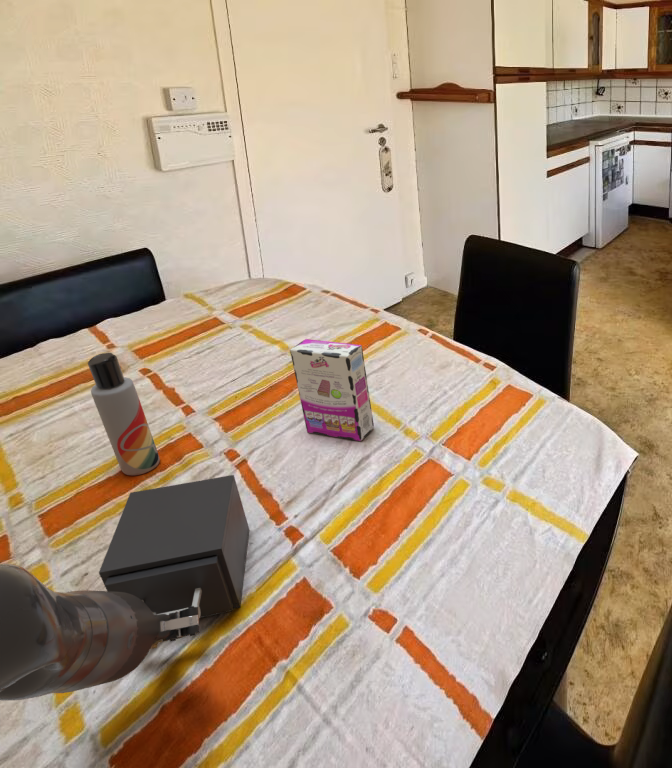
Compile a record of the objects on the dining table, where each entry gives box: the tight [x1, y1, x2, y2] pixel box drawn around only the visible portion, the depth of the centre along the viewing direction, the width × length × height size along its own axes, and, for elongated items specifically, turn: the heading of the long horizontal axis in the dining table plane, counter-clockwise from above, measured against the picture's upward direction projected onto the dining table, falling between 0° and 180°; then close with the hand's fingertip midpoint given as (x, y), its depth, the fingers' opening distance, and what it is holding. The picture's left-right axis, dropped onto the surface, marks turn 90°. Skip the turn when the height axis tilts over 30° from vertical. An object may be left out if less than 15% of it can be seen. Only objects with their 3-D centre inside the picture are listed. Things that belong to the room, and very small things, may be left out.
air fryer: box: [98, 474, 250, 610], centre depth 78 cm, size 15×13×10 cm
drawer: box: [104, 555, 234, 619], centre depth 75 cm, size 18×11×8 cm, turn 16°
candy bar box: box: [289, 338, 375, 442], centre depth 107 cm, size 11×5×16 cm, turn 73°
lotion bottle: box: [87, 352, 161, 476], centre depth 97 cm, size 6×6×20 cm
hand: (162, 631), depth 67 cm, fingers closed
